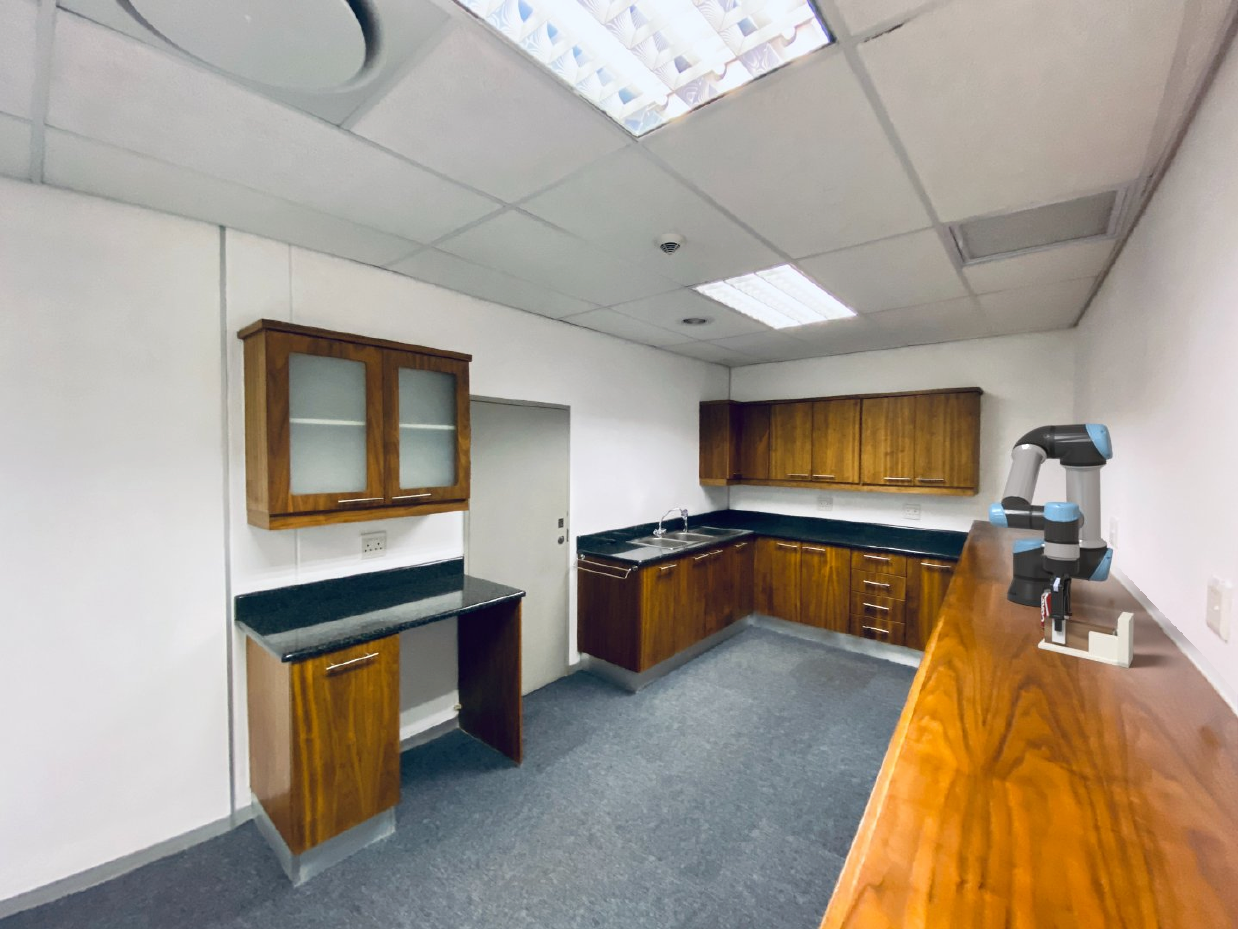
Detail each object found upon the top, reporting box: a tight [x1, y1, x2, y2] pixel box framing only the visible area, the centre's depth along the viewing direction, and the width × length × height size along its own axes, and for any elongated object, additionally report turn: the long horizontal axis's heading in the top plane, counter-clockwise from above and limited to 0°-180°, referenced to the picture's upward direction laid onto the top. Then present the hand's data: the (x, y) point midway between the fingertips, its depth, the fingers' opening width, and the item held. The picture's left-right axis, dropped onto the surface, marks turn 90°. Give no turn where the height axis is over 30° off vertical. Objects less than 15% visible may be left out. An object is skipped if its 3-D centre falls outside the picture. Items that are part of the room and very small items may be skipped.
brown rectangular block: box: [1044, 615, 1118, 652], centre depth 140 cm, size 4×14×7 cm, turn 39°
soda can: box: [1040, 589, 1071, 630], centre depth 156 cm, size 7×7×12 cm
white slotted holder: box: [1037, 611, 1135, 669], centre depth 139 cm, size 10×18×12 cm, turn 39°
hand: (1060, 640), depth 143 cm, fingers open, 4 cm apart
